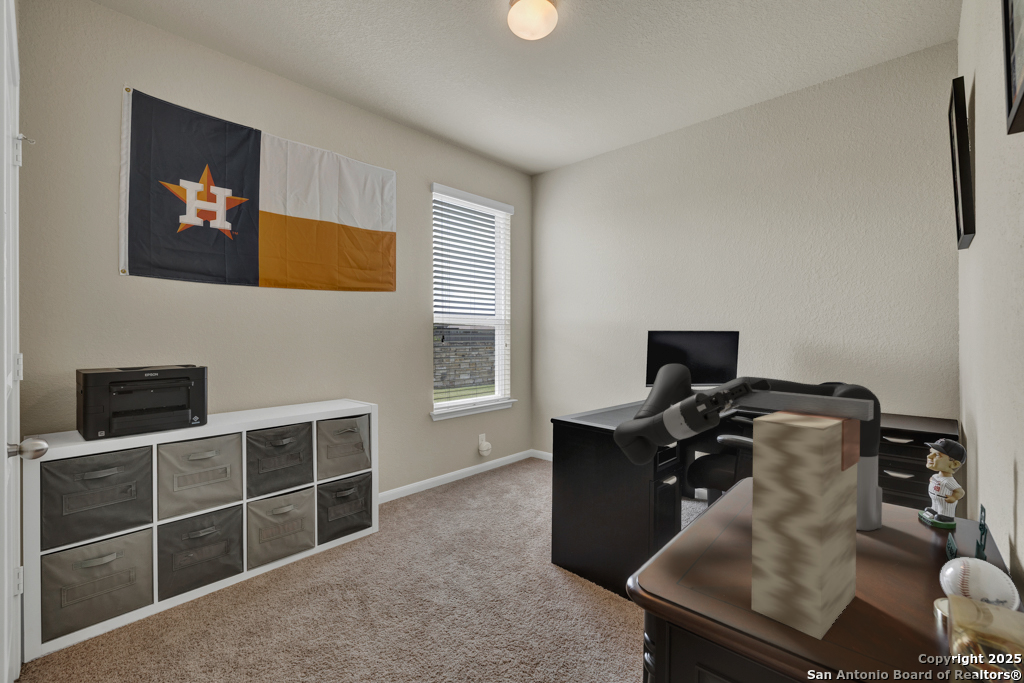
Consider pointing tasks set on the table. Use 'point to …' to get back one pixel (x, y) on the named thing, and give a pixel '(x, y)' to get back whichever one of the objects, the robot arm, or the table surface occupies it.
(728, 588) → the table surface
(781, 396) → the metal block
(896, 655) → the table surface
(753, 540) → the zigzag patterned pillar
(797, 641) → the table surface
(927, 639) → the table surface
